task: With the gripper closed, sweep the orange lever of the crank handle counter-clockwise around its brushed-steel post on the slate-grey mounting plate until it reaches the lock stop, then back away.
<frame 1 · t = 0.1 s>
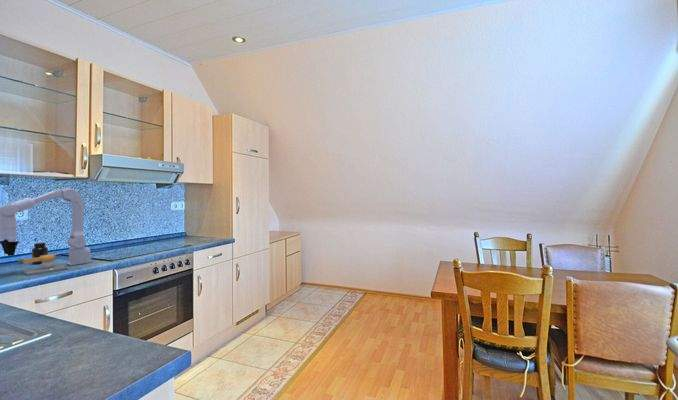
hand: (9, 254, 157), 10 cm above the worktop, tool pointing down, fingers open, 7 cm apart
supplement bottle: (40, 263, 181), on the worktop
crank handle: (37, 259, 161), point 7 cm above the worktop, hinge at 0.0°
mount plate: (44, 270, 163), on the worktop
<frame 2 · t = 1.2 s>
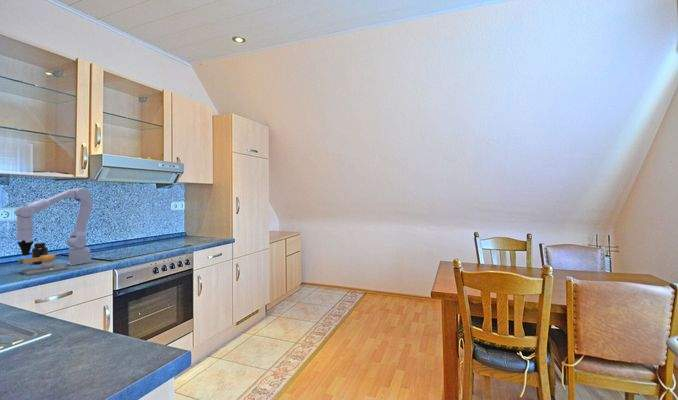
hand: (25, 255, 160), 9 cm above the worktop, tool pointing down, fingers closed
nothing on the worktop moved.
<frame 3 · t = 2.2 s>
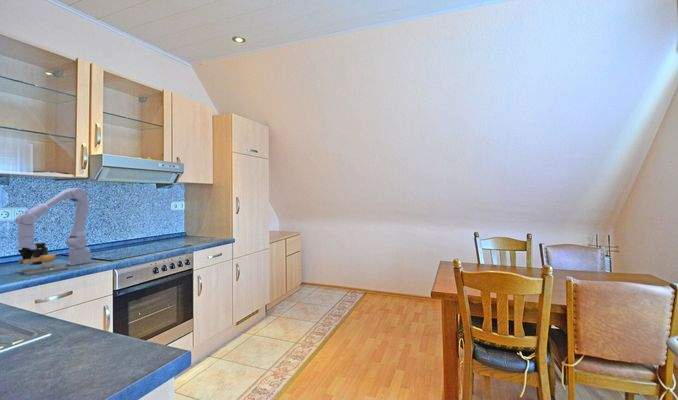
hand: (27, 262, 159), 5 cm above the worktop, tool pointing down, fingers closed, pressing on crank handle
crank handle: (37, 259, 161), point 7 cm above the worktop, hinge at 1.1°, touching gripper
everything else where it was.
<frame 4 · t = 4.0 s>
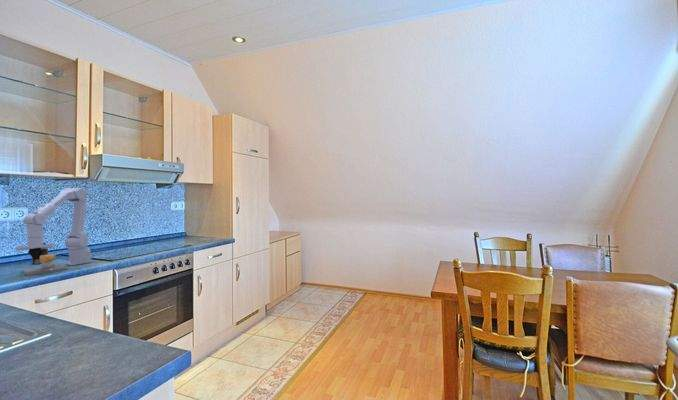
hand: (36, 263, 157), 5 cm above the worktop, tool pointing down, fingers closed
crank handle: (43, 259, 161), point 7 cm above the worktop, hinge at 57.1°, touching gripper
everything else where it was.
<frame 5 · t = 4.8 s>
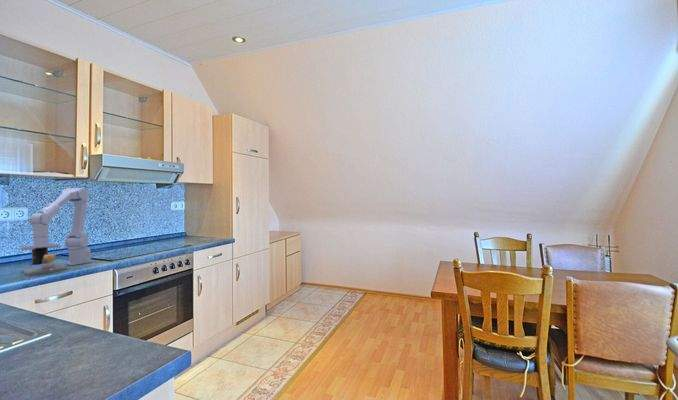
hand: (41, 263, 158), 5 cm above the worktop, tool pointing down, fingers closed
crank handle: (46, 259, 161), point 7 cm above the worktop, hinge at 72.5°, touching gripper
everything else where it was.
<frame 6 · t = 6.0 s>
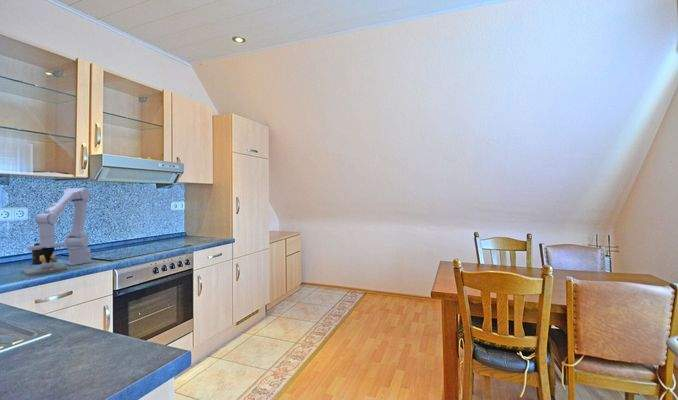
hand: (47, 262, 159), 5 cm above the worktop, tool pointing down, fingers closed
crank handle: (50, 258, 162), point 7 cm above the worktop, hinge at 92.9°, touching gripper
everything else where it was.
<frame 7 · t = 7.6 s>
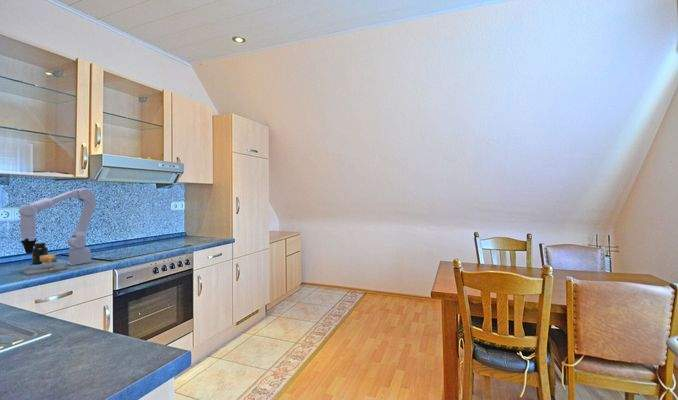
hand: (29, 253, 163), 9 cm above the worktop, tool pointing down, fingers closed
crank handle: (50, 258, 162), point 7 cm above the worktop, hinge at 92.9°
everything else where it was.
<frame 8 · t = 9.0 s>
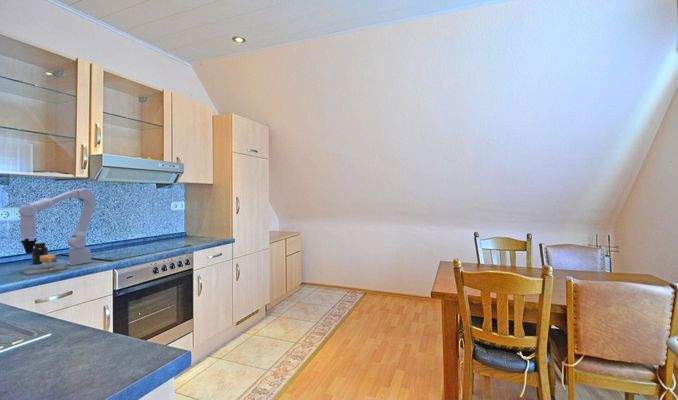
hand: (28, 253, 163), 9 cm above the worktop, tool pointing down, fingers closed
nothing on the worktop moved.
at the end: crank handle at +93° (first picture: +0°) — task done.
